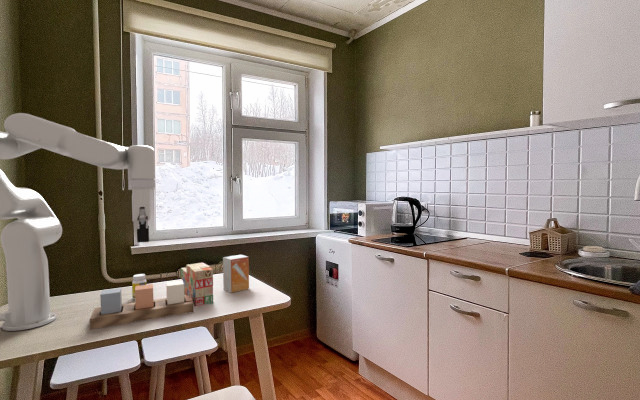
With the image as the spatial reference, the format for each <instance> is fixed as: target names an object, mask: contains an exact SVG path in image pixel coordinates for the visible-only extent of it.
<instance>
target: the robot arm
mask: <svg viewBox="0 0 640 400" xmlns="http://www.w3.org/2000/svg"><path fill="white" fill-rule="evenodd" d="M3 126H4V130H5V131H1V130H0V160H12V159H16V158H19V157H21V156H24V155H26V154H29V153H32V152H35V151H37V150H41V149H44V150H47V151H50V152H53V153H54V154H55V153H56V154H59V155H62V156H63V157H64V156H66V157H68V158H72V159H74V160H78V161H81V162H84V163H87V164H90V165H93V166H96V167H99V168H103V169H111V170H127V180H128V183H127V184H128V186H127V187H128V188H127V189H128V191H131V192H132V193H131V209H132V210H131V212H132V214H131V215H132V216H131V217H132V218H131V219H132V222H134V223H135V222H136V221H137V229H136V240H137V241H136V242H137V243H148V242H150V230H149V229H150V227H149V222H150V220H151V216H152V215H151V214H152V190H153V191H155V190H156V166H155V163H156V162H155V161H156V160H155V149H154V148H153V147H152V146H149V145H144V144H140V145H138V144H135V145H130V146H122V145H118V144H117V143H116V144H115V143H112V142H109V141H108V142H107V141H105V140H101V139H98V138H96V137H93V136H89V135H86V134H83V133H80V132H78V131H76V130H75V129H74V128H72V127H70V126H66V125H64V124H59V123H56V122H55V121H51V120H47V119H45V118H43V117H39V116H36V115H32V114H30V113H25V112H17V113H13V114H10V115H9V116H7V117H6V118H5V120H4V125H3ZM13 219H16V220H13ZM0 220H13V221H11V222H9V223H8V224H7V225H5V226H4V227H3V229H2V231H1V233H0V243H1V246H2V251H3V254H4V257H5V258H4V259H5V269H6V285H7V286H6V287H7V306H8V307H7V308H8V310H5V311H4V312H3V313H2V312H0V322H1V321H3V323H2V324H1V329H2V330H3V331H9V332H14V331H24V330H29V329H35V328H38V327H42V326H44V325H45V326H46V325H47V324H50V323H52V322H53V321H55V320H56V319H57V318H58V316H57V315H58V314H57V313H56V312H54V311H51V299H50V278H49V277H50V274H49V260H48V257H47V254H46V251H45V249H44V247H46V246H49V245H53V244H55V243H56V242H58V240H59V239H60V238H61V237H62V234H63V227H62V224H61V221H60V220H59V218H57V216H56V214H55V213H54V211H53V210H52V208H51V207H50V205H48V203H47V201H46V200H45V199H44V198H43V196H42V195H41V194H40V193H39V192H37V191H35V190H33V189H31V188H28V187H16V186H15V185H14V184H13V183H12V182H11V181H10V179H9V178H8V177H7V175H6V173H4V171H3V170H2V169H1V168H0Z"/></svg>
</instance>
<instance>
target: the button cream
mask: <svg viewBox="0 0 640 400" xmlns="http://www.w3.org/2000/svg"><path fill="white" fill-rule="evenodd" d="M165 286H166V298H167V304H168V305H169V304H175V303H182V302H184V295H185V294H184V283H183V280H182V279H181V280H174V281H167V282H166V285H165Z"/></svg>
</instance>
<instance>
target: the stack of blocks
mask: <svg viewBox="0 0 640 400" xmlns="http://www.w3.org/2000/svg"><path fill="white" fill-rule="evenodd" d="M180 277H181V280H183V283H184V295H190V296H191V298H192V301H193V306H195V307H198V306H199V307H200V306H205V305H209V304H212V303H213V304H214V269H213V268H212V267H211V266H210V265H208V264H206V263H204V262H197V263H190V264H189V263H188V264H186V267H181V268H180Z"/></svg>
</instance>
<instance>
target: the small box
mask: <svg viewBox="0 0 640 400" xmlns="http://www.w3.org/2000/svg"><path fill="white" fill-rule="evenodd" d="M249 260H250V259H249V256H247V255H244V254H238V255H237V254H236V255H229V256H224V257H223V256H222V271H223V272H222V275H223V278H222V279H223V290H224V291H225V292H229V293H236V292H240V291H245V290H249V289H250V276H249V275H250V272H249V271H250V267H249V266H250V263H249V262H250V261H249Z"/></svg>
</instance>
